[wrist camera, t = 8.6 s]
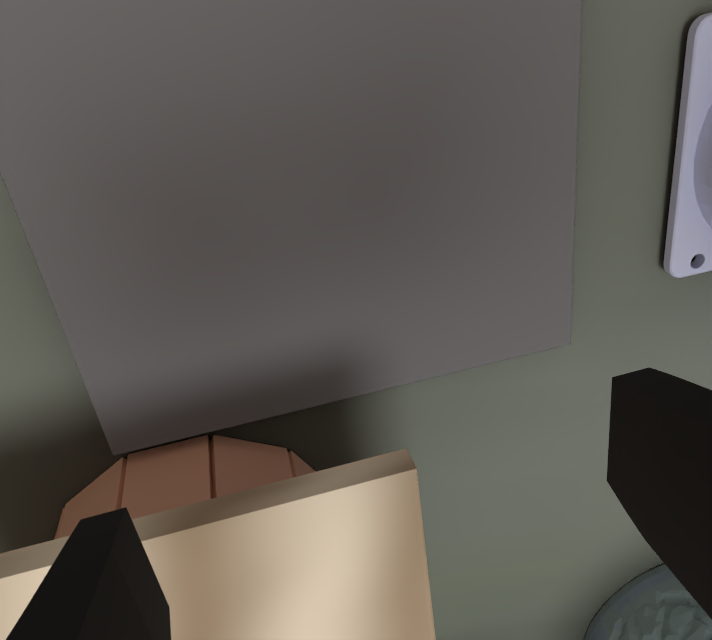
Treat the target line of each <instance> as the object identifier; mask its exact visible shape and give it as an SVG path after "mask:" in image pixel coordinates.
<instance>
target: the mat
mask: <svg viewBox="0 0 712 640" xmlns="http://www.w3.org/2000/svg"><path fill="white" fill-rule="evenodd" d="M581 14H582V0H0V172H1V175H2V177H3V180H4V182H5V185H6V188H7V190H8V193H9V195H10V198H11V200H12V203H13V205H14V208H15V210H16V213H17V215H18V218H19V220H20V223H21V225H22V228H23V230H24V233H25V235H26V238H27V240H28V243H29V245H30V248H31V250H32V253H33V256H34V258H35V261H36V263H37V266H38V268H39V271H40V273H41V276H42V278H43V281H44V283H45V286H46V288H47V291H48V293H49V296H50V298H51V301H52V303H53V306H54V308H55V311H56V313H57V316H58V318H59V321H60V324H61V326H62V329H63V331H64V334H65V336H66V339H67V341H68V344H69V346H70V349H71V351H72V354H73V356H74V359H75V361H76V364H77V366H78V369H79V371H80V374H81V376H82V379H83V381H84V384H85V386H86V389H87V392H88V394H89V397H90V399H91V402H92V404H93V407H94V409H95V412H96V414H97V417H98V419H99V422H100V424H101V427H102V429H103V432H104V434H105V437H106V439H107V442H108V444H109V447H110V449H111V452H112V454H113V456H114V455H118V454H122V453H126V452H131V451H135V450H139V449H143V448H147V447H151V446H155V445H159V444H163V443H167V442H171V441H176V440H180V439H184V438H188V437H192V436H196V435H200V434H204V433H208V432H212V431H216V430H220V429H225V428H229V427H233V426H237V425H241V424H245V423H249V422H253V421H257V420H261V419H265V418H270V417H274V416H278V415H282V414H286V413H290V412H294V411H298V410H302V409H306V408H310V407H315V406H319V405H323V404H327V403H331V402H335V401H339V400H343V399H347V398H351V397H355V396H359V395H364V394H368V393H372V392H376V391H380V390H384V389H388V388H392V387H396V386H400V385H404V384H409V383H413V382H417V381H421V380H425V379H429V378H433V377H437V376H441V375H445V374H449V373H454V372H458V371H462V370H466V369H470V368H474V367H478V366H482V365H486V364H490V363H494V362H499V361H503V360H507V359H511V358H515V357H519V356H523V355H527V354H531V353H535V352H539V351H543V350H548V349H552V348H556V347H560V346H564V345H568V344H571V315H572V285H573V255H574V225H575V195H576V165H577V135H578V104H579V74H580V44H581Z"/></svg>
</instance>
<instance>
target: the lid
mask: <svg viewBox="0 0 712 640" xmlns="http://www.w3.org/2000/svg"><path fill="white" fill-rule="evenodd" d="M132 521H133V524H134V526H135V528H136V531H137V533H138V535H139V538H140V540H141V542H142V545H143V547H144V549H145V552H146V554H147V556H148V559H149V561H150V563H151V565H152V568H153V570H154V572H155V575H156V577H157V579H158V582H159V584H160V586H161V589H162V591H163V593H164V596H165V598H166V600H167V603H168V605H169V607H170V626H171V640H435V631H434V622H433V613H432V604H431V595H430V586H429V577H428V568H427V559H426V550H425V540H424V531H423V522H422V513H421V504H420V495H419V486H418V477H417V468H416V466H415V464H414V462H413V460H412V458H411V456H410V454H409V452H408V450H407V448H406V449H402V450H398V451H394V452H390V453H386V454H382V455H379V456H375V457H371V458H367V459H363V460H359V461H355V462H352V463H348V464H344V465H340V466H336V467H332V468H329V469H325V470H321V471H317V472H313V473H309V474H305V475H302V476H298V477H294V478H290V479H286V480H282V481H278V482H275V483H271V484H267V485H263V486H259V487H255V488H251V489H248V490H244V491H240V492H236V493H232V494H228V495H224V496H221V497H217V498H213V499H209V500H205V501H201V502H197V503H194V504H190V505H186V506H182V507H178V508H174V509H170V510H167V511H163V512H159V513H155V514H151V515H147V516H143V517H140V518H136V519H132ZM69 537H70V536H66V537H62V538H59V539H55V540H51V541H47V542H43V543H39V544H35V545H32V546H28V547H24V548H20V549H16V550H12V551H8V552H5V553H1V554H0V640H6V638H7V637H8V635H9V634H10V632H11V631H12V629H13V627H14V626H15V624H16V623H17V621H18V620H19V618H20V616H21V615H22V613H23V612H24V610H25V608H26V607H27V605H28V604H29V602H30V600H31V599H32V597H33V595H34V594H35V592H36V591H37V589H38V587H39V586H40V584H41V582H42V581H43V579H44V577H45V576H46V574H47V573H48V571H49V569H50V568H51V566H52V564H53V563H54V561H55V559H56V558H57V556H58V554H59V553H60V551H61V550H62V548H63V546H64V545H65V543H66V541H67V540H68V538H69Z"/></svg>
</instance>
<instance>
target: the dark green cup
mask: <svg viewBox="0 0 712 640" xmlns="http://www.w3.org/2000/svg"><path fill="white" fill-rule="evenodd" d="M584 640H712V619H711V618H710V617H709V616H708V615H707V613H706V612H705V611H704V610H703V609H702V608H701V606H700V605H699V604H698V603H697V602H696V600H695V599H694V598H693V597H692V596H691V595H690V593H689V592H688V591H687V590H686V589H685V587H684V586H683V585H682V584H681V583H680V581H679V580H678V579H677V578H676V577H675V575H674V574H673V573H672V572H671V571H670V569H669V568H668V567H667V566H666V565H665V564H664V565H661V566H658V567H656V568H654V569H652V570H650V571H647V572H645V573H644V574H642V575H640V576H639V577H637V578H635V579H634V580H632V581H631V582H629V583H628V584H626V585H625V586H624V587H622V588H621V589H620V590H619V591H618V592H617V593H615V594H614V595H613V596H612V597H611V598H610V599H609V600H608V601H607V602H606V603H605V604H604V605H603V606H602V608H601V609H600V610H599V612H598V613H597V614H596V616H595V617H594V619H593V620H592V622H591V624H590V626H589V627H588V630H587V633H586V636H585V639H584Z"/></svg>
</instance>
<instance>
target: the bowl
mask: <svg viewBox="0 0 712 640" xmlns="http://www.w3.org/2000/svg"><path fill="white" fill-rule="evenodd" d="M313 472H316V471H315V470H314V469H312V468H311V467H310V466H309V465H308V464H307V463H305V462H304V461H303V460H302V459H301V458H300V457H298V456H297V455H296V454H295V453H294V452H293V451H289V452H287V448H283V447H277V446H272V445H267V444H261V443H256V442H250V441H245V440H240V439H234V438H229V437H224V436H218V435H213V437H212V439H211V442H210V441H209V437H208V435H205V436H201V437H196V438H192V439H188V440H184V441H180V442H176V443H172V444H168V445H164V446H160V447H156V448H152V449H147V450H143V451H139V452H135V453H131V454H128V458H127V459H126V458H124V457H122V458H121V459H120V460H118V461H117V462H116V463H115V464H114V465H112V466H111V467H110V468H109V469H107V470H106V471H105V472H104V473H103V474H101V475H100V476H99V477H98V478H97V479H95V480H94V481H93V482H92V483H91V484H89V485H88V486H87V487H86V488H84V489H83V490H82V491H81V492H80V493H78V494H77V495H76V496H75V497H74V498H72V499H71V500H70V501H69V502H67V503H66V504H65V508H63V509H62V513H61V516H60V520H59V523H58V527H57V530H56V534H55V537H54V540H55V539H59V538H62V537H66V536H70V535H71V534H72V532H73V530H74V529H75V527H76V526H77V524H78V523H79V521H80V520H81V519H84V518H88V517H91V516H95V515H99V514H103V513H106V512H110V511H114V510H118V509H121V508H125V507H127V510H128V512H129V514H130V517H131V519H136V518H140V517H143V516H147V515H151V514H155V513H159V512H163V511H167V510H170V509H174V508H178V507H182V506H186V505H190V504H194V503H197V502H201V501H205V500H209V499H213V498H217V497H221V496H224V495H228V494H232V493H236V492H240V491H244V490H248V489H251V488H255V487H259V486H263V485H267V484H271V483H275V482H278V481H282V480H286V479H290V478H294V477H298V476H302V475H305V474H309V473H313Z"/></svg>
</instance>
